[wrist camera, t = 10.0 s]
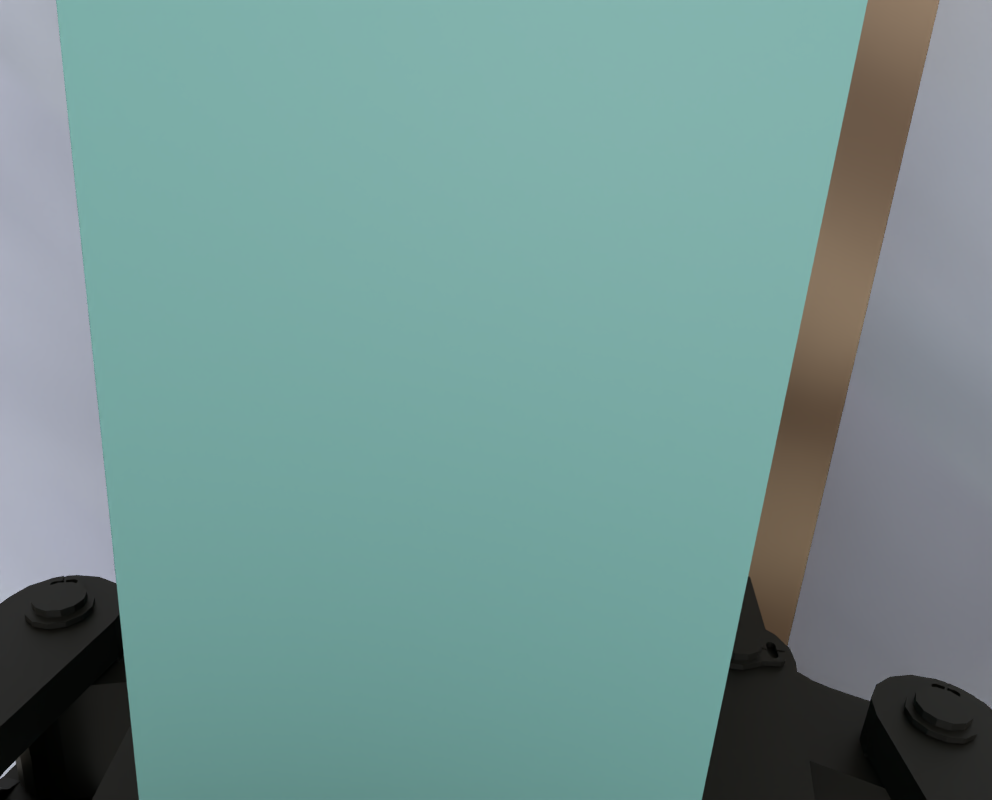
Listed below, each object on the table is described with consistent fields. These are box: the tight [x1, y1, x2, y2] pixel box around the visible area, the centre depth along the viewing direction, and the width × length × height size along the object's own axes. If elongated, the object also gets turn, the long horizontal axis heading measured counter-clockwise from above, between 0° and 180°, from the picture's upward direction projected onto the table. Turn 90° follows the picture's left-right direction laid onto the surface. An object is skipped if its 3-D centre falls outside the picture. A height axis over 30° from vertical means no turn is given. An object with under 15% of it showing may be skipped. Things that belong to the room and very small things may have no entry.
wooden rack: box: [748, 0, 939, 645], centre depth 17 cm, size 26×14×12 cm, turn 176°
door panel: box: [56, 0, 868, 800], centre depth 12 cm, size 16×2×16 cm, turn 176°
